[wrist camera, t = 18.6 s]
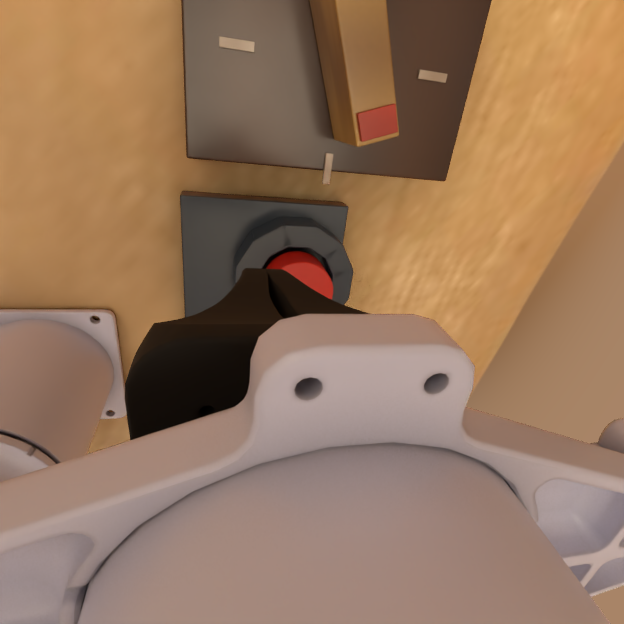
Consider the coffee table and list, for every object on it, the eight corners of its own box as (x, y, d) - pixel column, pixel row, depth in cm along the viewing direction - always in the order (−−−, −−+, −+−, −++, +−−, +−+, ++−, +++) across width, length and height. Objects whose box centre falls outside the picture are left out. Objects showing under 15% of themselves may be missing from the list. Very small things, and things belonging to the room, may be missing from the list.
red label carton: (304, -23, 15) (328, -57, 12) (348, -33, 15) (383, -69, 12) (333, 140, 18) (358, 148, 15) (369, 130, 18) (402, 136, 15)
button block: (187, 322, 24) (183, 347, 22) (181, 190, 21) (176, 202, 18) (329, 321, 26) (341, 344, 24) (346, 202, 23) (363, 214, 20)
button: (260, 310, 22) (263, 325, 20) (263, 249, 20) (267, 260, 19) (321, 310, 23) (328, 324, 21) (329, 251, 21) (338, 263, 20)
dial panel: (190, 163, 20) (186, 172, 17) (182, -107, 15) (175, -152, 13) (417, 183, 23) (444, 193, 20) (467, -37, 19) (510, -61, 16)
